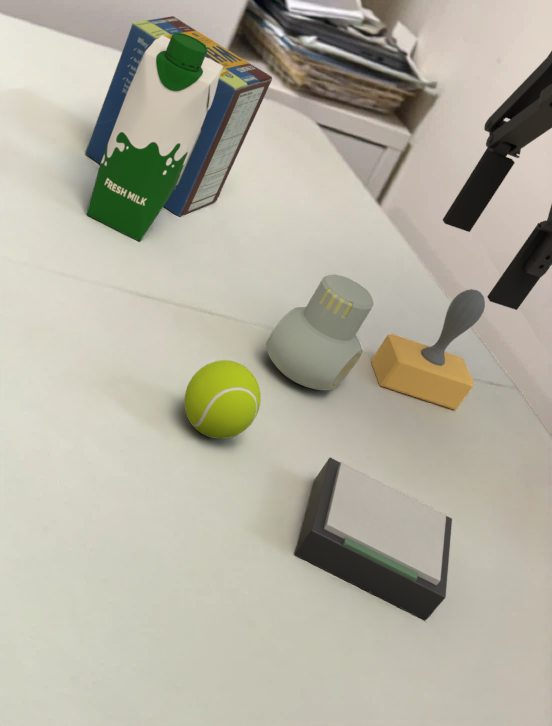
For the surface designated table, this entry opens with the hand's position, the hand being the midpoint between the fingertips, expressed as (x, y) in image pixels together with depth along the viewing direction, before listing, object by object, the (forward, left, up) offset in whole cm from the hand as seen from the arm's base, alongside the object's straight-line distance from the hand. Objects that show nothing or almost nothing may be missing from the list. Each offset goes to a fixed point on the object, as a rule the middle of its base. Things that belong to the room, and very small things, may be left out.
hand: (477, 263), depth 96 cm
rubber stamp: (-5, -20, -21) cm, 30 cm away
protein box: (+34, -40, -21) cm, 57 cm away
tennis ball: (+15, +10, -21) cm, 27 cm away
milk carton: (+34, -25, -21) cm, 47 cm away
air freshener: (+8, -10, -21) cm, 25 cm away
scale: (-3, +16, -21) cm, 26 cm away
